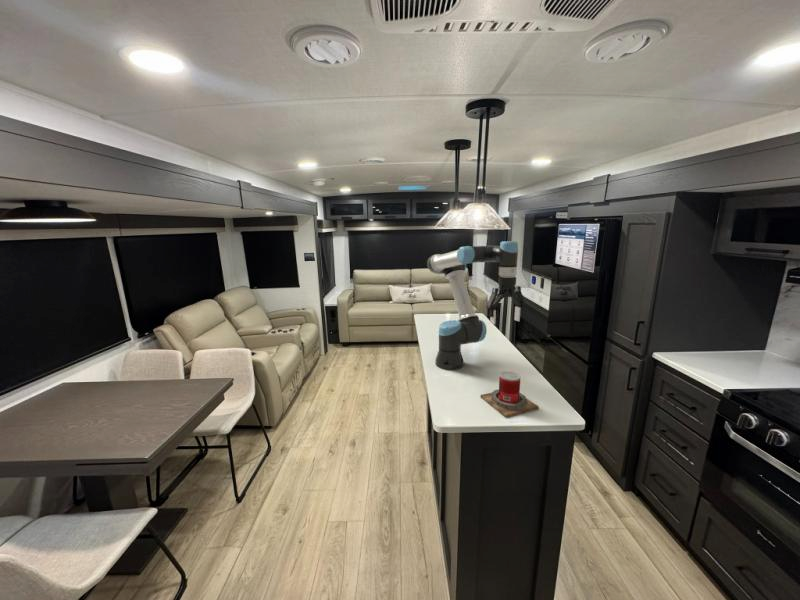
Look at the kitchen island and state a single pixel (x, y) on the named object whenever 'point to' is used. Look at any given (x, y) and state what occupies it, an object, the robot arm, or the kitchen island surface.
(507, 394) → the canned food
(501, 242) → the robot arm
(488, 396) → the socket board
